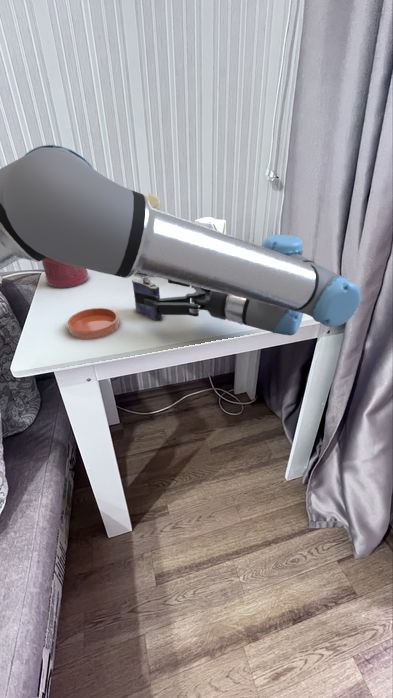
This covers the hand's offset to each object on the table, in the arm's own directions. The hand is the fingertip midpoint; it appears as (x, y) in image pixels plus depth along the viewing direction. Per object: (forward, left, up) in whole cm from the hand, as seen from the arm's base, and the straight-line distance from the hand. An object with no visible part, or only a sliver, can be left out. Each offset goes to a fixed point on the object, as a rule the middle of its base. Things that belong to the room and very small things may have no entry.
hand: (153, 286), depth 81 cm
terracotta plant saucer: (-12, +10, -8) cm, 18 cm away
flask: (0, +2, -8) cm, 9 cm away
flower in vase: (+26, +20, -8) cm, 34 cm away
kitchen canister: (+6, +40, -8) cm, 41 cm away
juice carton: (+27, -2, -8) cm, 28 cm away
